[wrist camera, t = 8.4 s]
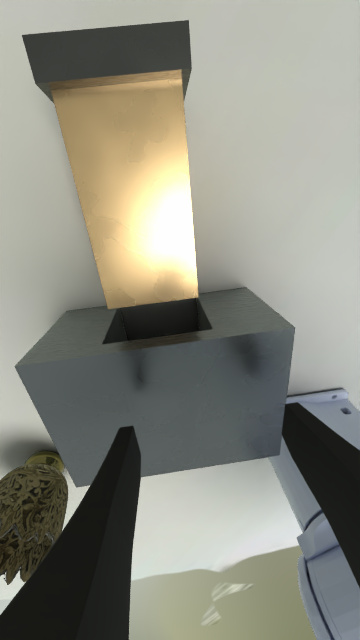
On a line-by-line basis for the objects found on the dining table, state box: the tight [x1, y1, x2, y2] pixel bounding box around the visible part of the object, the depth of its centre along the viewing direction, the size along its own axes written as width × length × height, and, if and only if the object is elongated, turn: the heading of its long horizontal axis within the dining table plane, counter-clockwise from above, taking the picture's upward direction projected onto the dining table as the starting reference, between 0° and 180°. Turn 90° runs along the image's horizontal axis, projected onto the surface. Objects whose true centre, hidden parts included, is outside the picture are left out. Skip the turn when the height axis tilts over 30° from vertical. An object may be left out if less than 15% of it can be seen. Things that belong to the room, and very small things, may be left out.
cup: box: [0, 451, 68, 585], centre depth 20 cm, size 8×7×8 cm
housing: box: [15, 288, 295, 487], centre depth 17 cm, size 14×10×7 cm
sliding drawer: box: [22, 20, 198, 309], centre depth 12 cm, size 6×10×6 cm, turn 6°
